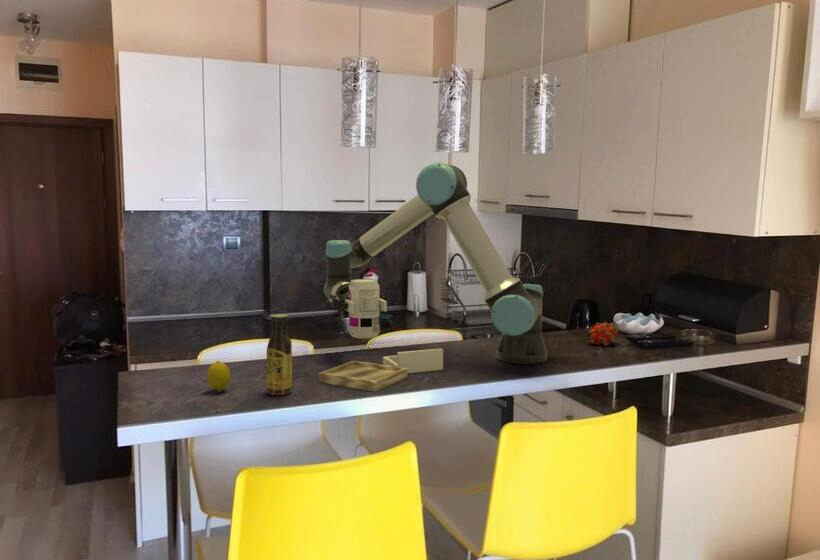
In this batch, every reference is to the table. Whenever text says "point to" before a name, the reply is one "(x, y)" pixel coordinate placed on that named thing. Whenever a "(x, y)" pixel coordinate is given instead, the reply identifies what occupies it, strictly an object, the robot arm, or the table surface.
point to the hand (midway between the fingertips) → (369, 307)
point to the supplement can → (364, 308)
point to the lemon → (218, 376)
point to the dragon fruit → (603, 333)
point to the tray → (363, 375)
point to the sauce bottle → (279, 357)
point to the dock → (417, 360)
